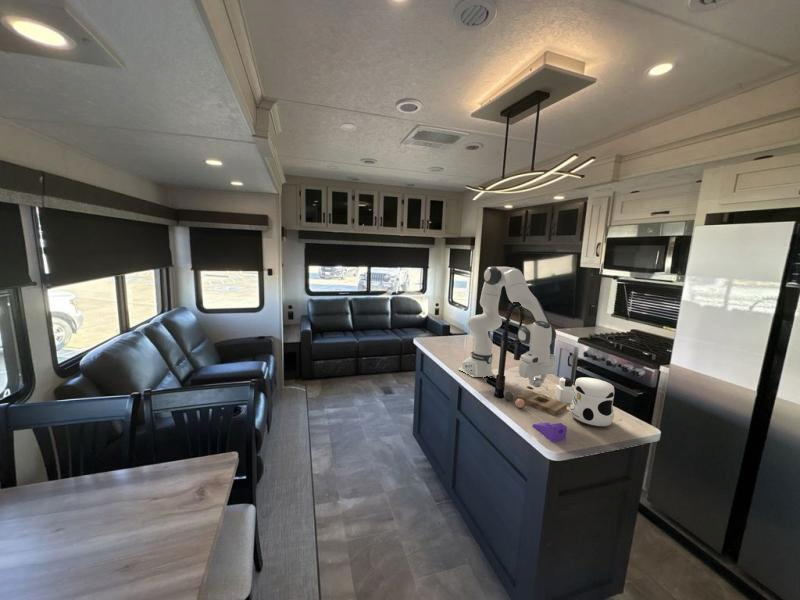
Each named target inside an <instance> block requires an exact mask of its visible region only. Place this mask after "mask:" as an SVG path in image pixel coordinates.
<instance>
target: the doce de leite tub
mask: <svg viewBox="0 0 800 600" xmlns="http://www.w3.org/2000/svg"><path fill="white" fill-rule="evenodd" d="M574 382H575V383H574V388H573V389H574V397H573V400H572V402H571V403H570V405H569V406H570V407H569V408H570V413H571V414H570V415H571V416H572V417H573V418H574V419H575V420H577V421H578V422H580V423H582V424H584V425H587V426H590V427H594V428H595V427H596V428H603V427H604V428H605V427H609V426H610V425H611V424H612V423H613V421H614V417H615V412H614V407H613V406H614V405H613V404H614V398H615V387H614V385H612V384H611V383H610V382H607V381H605V380H601V379H599V378H594V377H593V378H592V377H578V378H576V379H575V381H574Z"/></svg>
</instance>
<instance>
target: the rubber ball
mask: <svg viewBox="0 0 800 600" xmlns="http://www.w3.org/2000/svg"><path fill="white" fill-rule="evenodd" d="M504 398H505V400H506V401H512V400H513V399H514V394H513V392H511V391H506V392H505V393H504Z"/></svg>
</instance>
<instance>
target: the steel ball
mask: <svg viewBox="0 0 800 600" xmlns="http://www.w3.org/2000/svg"><path fill="white" fill-rule="evenodd" d="M533 381H535V384H534V385H532V386H533V387H535V388H540V387H541V386H542V384H543V383H542V381H541V380H540V378H539V377H534V378H533Z"/></svg>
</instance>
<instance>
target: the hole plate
mask: <svg viewBox="0 0 800 600" xmlns="http://www.w3.org/2000/svg"><path fill="white" fill-rule="evenodd" d="M516 397H517V398H516V400H517V399H523V400H524V402H525V405H527V406H530V407H532V408H534V409H537V410H540V411H542V412H544V413H547V414H550V415H551V416H557V415H559V414H561V413H562V412H563V411H565V410H567V407H568V403H563V402H560V401H558V400H557V399H556V398H551V397H548V396H546V395H542V394H540V393H537V392H535V391H532V390H530V389H529V390H526V391H524V392H523V393H520V394H518V395H517V396H516Z"/></svg>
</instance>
